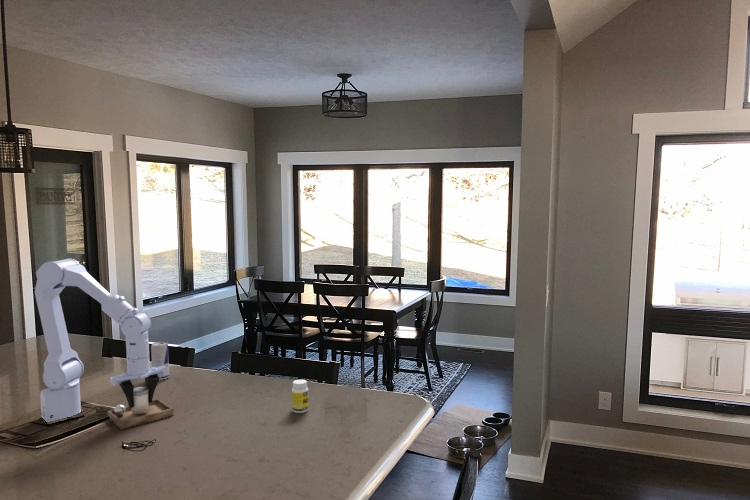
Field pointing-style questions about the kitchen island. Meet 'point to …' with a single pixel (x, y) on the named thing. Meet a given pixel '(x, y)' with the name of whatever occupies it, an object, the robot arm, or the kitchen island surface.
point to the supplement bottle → (300, 396)
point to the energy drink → (160, 357)
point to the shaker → (140, 400)
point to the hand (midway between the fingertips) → (140, 404)
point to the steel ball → (120, 410)
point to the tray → (130, 419)
